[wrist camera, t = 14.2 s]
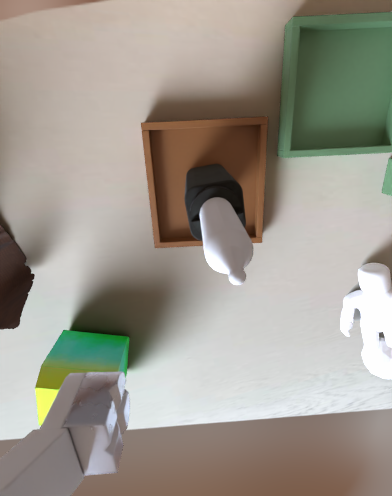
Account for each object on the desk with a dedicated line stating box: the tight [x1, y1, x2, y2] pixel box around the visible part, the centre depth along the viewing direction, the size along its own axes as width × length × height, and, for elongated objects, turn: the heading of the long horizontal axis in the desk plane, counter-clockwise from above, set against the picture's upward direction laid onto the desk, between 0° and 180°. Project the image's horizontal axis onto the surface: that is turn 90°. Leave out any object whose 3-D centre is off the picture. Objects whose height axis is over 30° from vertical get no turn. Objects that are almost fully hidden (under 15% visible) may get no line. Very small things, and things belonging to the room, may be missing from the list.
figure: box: [340, 263, 392, 379], centre depth 43 cm, size 11×6×20 cm
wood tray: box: [141, 116, 268, 248], centre depth 36 cm, size 16×15×2 cm
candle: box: [184, 164, 253, 285], centre depth 25 cm, size 5×5×25 cm
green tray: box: [277, 12, 392, 158], centre depth 32 cm, size 14×14×3 cm
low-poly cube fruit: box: [35, 330, 129, 425], centre depth 41 cm, size 11×10×15 cm
